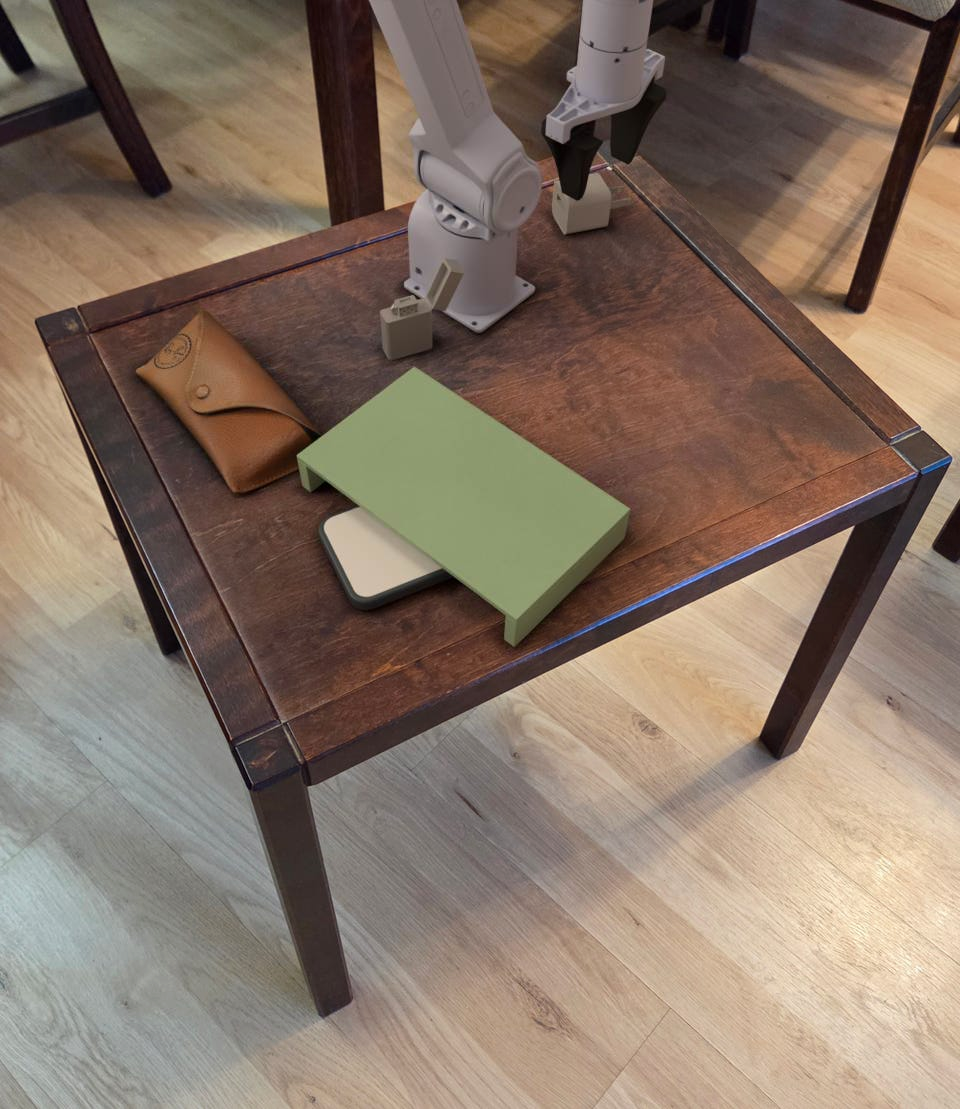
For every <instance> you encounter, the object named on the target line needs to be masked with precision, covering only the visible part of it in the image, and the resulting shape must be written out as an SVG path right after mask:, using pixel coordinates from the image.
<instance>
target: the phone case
mask: <svg viewBox="0 0 960 1109" xmlns="http://www.w3.org/2000/svg"><path fill="white" fill-rule="evenodd" d="M317 533H318V539H319V541H320V544H321V545H322V548H323V550H324V551H325V554H326V556H327V558H328V560H329V562H330V564H331V566H332V569H333V571H334V572H335V574H336V576H337V578H338V580H339V583H340V584H341V586H342V588H343V590H344V592H345V594H346V597H347V598H348V600H349V603H350V604H351V605H352V606H353V607H354V608H355V609H357V610H359V611H373V610H375V609H377V608H380V607H383V606H384V605H388V604H389V603H392V602H394V601H397V600H399V599H403V598H405V597H407V596H411V595H412V594H414V593H417V592H419V591H422V590H424V589H427V588H430V587H432V586H435V585H437V584H440V583H442V582H445V581H447V580H450V579H452V578H455V577H454V576H452V575H451V574H450V573H448V572H447V571H446V570H444V569H443V568H442V567H440V566H439V565H438V564H436V563H435V562H434V561H432V560H431V559H430V558H428V557H427V556H426V555H424V554H423V553H422V552H420V551H419V550H418V549H416V548H415V547H414V546H412V545H411V544H410V543H408V542H407V541H406V540H404V539H403V538H402V537H400V536H399V535H398V534H396V533H395V532H394V531H392V530H391V529H390V528H388V527H387V526H386V525H384V524H383V523H382V522H380V521H379V520H378V519H376V518H375V517H374V516H372V515H371V514H370V513H368V512H367V511H366V510H364V509H363V508H362V507H360V506H359V505H358V504H356V505H355V506H352V507H349V508H347V509H344V510H341V511H338V512H335V513H333V514H331V515H329V516H326V517H324V518H323V519H322V520H321V521H320V522H319V523H318V526H317Z"/></svg>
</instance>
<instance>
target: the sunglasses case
mask: <svg viewBox="0 0 960 1109" xmlns="http://www.w3.org/2000/svg"><path fill="white" fill-rule="evenodd" d="M135 374H136V375H137V376H138V377H139V378H140V380H142V381H143V382H144V383H145V384H146V385H147V386H149V387H150V388H151V389H152V390H153V391H155V393H156V394H158V395H159V396H160V398H162V400H163V401H164V402H165V403H166V404H167V406H168V407H169V408H170V409H171V410H172V411H173V412H174V414H175V415H176V416H177V417H178V418H179V420H180V421H181V422H182V423H183V425H184V426H185V428H187V430H188V431H189V432H190V433H191V435H192V436H193V437H194V439H195V440H196V441H197V443H198V444H199V445H200V447H201V448H202V449H203V450H204V451H205V454H207V455H208V457H209V459H210V460H211V461H212V462H213V463H214V466H215V467H216V468H217V470H218V472H219V473H220V475H221V477H222V479H223V480H224V481H225V483H226V485H227V487H228V489H229V490H230V491H231V493H233V494H247V493H249V492H252V491H255V490H258V489H260V488H263V487H265V486H268V485H270V484H273V483H274V482H277V481H279V480H281V479H284V478H285V477H288V476H290V475H291V474H293V473H296V472H297V471H299V465H298V459H297V455H298V454H299V453H300V452H302V451H303V450H304V449H306V448H307V447H308V446H310V445H311V444H312V443H314V442H315V441H316V440H318V439H319V438H320V437H322V436H323V435H322V434H321V432H320V431H318V429H317V428H316V427H315V426H314V425H313V423H312V422H311V421H310V419H308V418H307V416H306V415H305V414H304V413H303V411H301V409H300V407H298V406H297V404H296V402H294V401H293V399H292V398H291V397H290V396H289V395H288V394H287V393H286V392H285V390H283V389H282V388H281V386H280V385H279V384H278V383H277V382H276V381H275V380H274V379H273V377H272V376H271V375H270V374H269V373H268V372H267V371H266V370H265V369H264V368H263V366H261V365H260V364H259V362H258V361H257V360H256V359H255V358H254V356H252V355H251V354H250V352H249V351H248V350H247V349H246V347H244V346H243V345H242V344H241V343H240V342H239V341H238V340H237V338H236V337H235V336H233V334H232V333H231V332H229V331H228V329H226V328H225V327H224V325H222V324H221V323H220V322H219V321H218V320H217V319H216V318H215V317H214V316H213V315H212V314H211V313H210V312H209V311H208V310H207V309H204V308H199V309H198V310H197V315H196V316H194V317H193V318H192V319H191V320H190V321H189V322H188V323H187V324H186V325H185V326H184V327H183V328H182V329H181V330H180V331H179V332H177V334H176V335H175V336H174V337H173V338H171V340H170V341H169V342H167V344H166V345H164V346H163V347H162V348H161V349H160V350H159V351H158V352H157V353H156V354H155V355H154V356H153V357H152V358H151V359H150V360H149V361H148V362H147V363H146V364H143V365H141V366H139V367H137V368H136V370H135Z"/></svg>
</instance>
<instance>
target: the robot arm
mask: <svg viewBox="0 0 960 1109" xmlns="http://www.w3.org/2000/svg"><path fill="white" fill-rule="evenodd" d="M368 2H369V4H370V6H371V9H372V11H373V13H374V15H375V19H376V20H377V23H378V25H379V28H380V30H381V33H382V35H383V37H384V39H385V41H386V44H387V46H388V48H389V51H390V53H391V56H392V58H393V60H394V63H395V65H396V67H397V70H398V72H399V75H400V77H401V79H402V81H403V84H404V86H405V88H406V90H407V93H408V96H409V98H410V100H411V102H412V104H413V107H414V109H415V111H416V114H417V116H418V118H417V120H416V121H415V123H414V124H413V126H412V127H411V129H410V131H409V133H408V139H409V140H410V143H411V145H412V148H413V149H412V150H413V174H414V177H415V180H416V181H417V182H418V184H419V185H420V186H421V187H423V188H424V189H425V190H424V191H423V192H422V193H421V194H420V196H419V197H418V198H417V200H415V202H414V205H413V206H412V209H411V211H410V214H409V218H408V223H407V240H408V259H409V277H408V279H406V280H405V281H404V282H403V288H404V289H406V290H407V291H409V292H410V293H412V295H414V296H415V295H416V297H418V298H419V299H422V298H423V299H425V296H426V293H427V291H428V289H429V287H430V285H431V283H432V281H433V278H434V276H435V274H436V272H437V270H438V268H439V266H440V263H441V261H442V259H444V258H445V259H451V260H457V261H458V262H459V264H460V265H461V267H462V268H463V270H464V274H463V276H462V279H461V281H460V283H459V285H458V287H457V289H456V291H455V293H454V295H453V297H452V299H451V301H450V303H449V305H448V307H447V309H446V311H441V312H442V313H444V314H445V315H447V316H449V317H450V318H452V319H453V320H455V321H456V322H458V323H460V324H461V325H463V326H464V327H466V328H467V329H470V330H471V331H473V332H474V333H476V334H480V333H483V332H485V331H486V330H487V329H489V328H490V327H491V326H492V325H494V324H495V323H497V322H498V321H499V320H500V319H502V318H503V317H504V316H506V314H508V313H509V312H511V311H512V310H513V309H515V308H517V306H518V305H520V304H521V303H522V302H524V301H525V300H526V299H528V298H529V297H530V296H532V295H533V294H534V293H535V291H536V286H535V285H534V284H532V283H530V282H528V281H527V280H525V279H523V278H522V277H520V276H518V275H517V257H518V240H519V239H518V238H519V228H520V227H521V226H523V225H524V224H525V223H526V222H527V221H528V219H529V218H530V217H531V216H532V215H533V213H534V212H535V209H536V208H537V206H538V203H539V200H540V198H541V196H542V195H541V194H542V189H543V188H542V187H543V172H542V169H541V167H540V165H539V164H538V163H537V161H535V160H533V159H532V158H530V157H528V155H527V153H526V151H525V148H524V145H523V142H522V141H520V140H519V138H518V137H517V136H516V135H515V133H513V132H512V131H511V129H510V128H509V127H508V126H507V125H506V124H505V123H504V121H503V120H501V119H500V118H499V116H498V115H497V114H496V112H495V111H494V109H493V106H492V102H491V99H490V96H489V93H488V91H487V87H486V85H485V82H484V79H483V75H482V72H481V69H480V66H479V63H478V61H477V58H476V55H475V54H476V53H475V52H474V49H473V45H472V42H471V40H470V37H469V33H468V30H467V28H466V25H465V21H464V19H463V16H462V12H461V10H460V6H459V4H458V1H457V0H368ZM653 5H654V0H582V8H581V19H580V29H579V38H578V39H579V41H578V49H577V50H578V51H577V60H576V65H575V66H573V67H572V68H571V69H569V70H568V71H567V72H566V81H568V82H569V83H571V84H570V85H569V87H568V88H567V89H566V91H565V93H564V94H563V96H562V98H561V99H560V101H558V104H557V105H556V107H555V108H553V110H552V111H550V112H549V113H548V114H546V117H545V118H544V119H543V120H542V121H541V128H540V129H541V130H540V134H541V136H542V137H543V139H544V140H545V142H546V144H547V146H548V148H549V150H550V152H551V155H552V158H553V160H554V163H555V168H556V170H557V175H558V180H559V181H560V186H561V191H562V193H563V194H565V195H567V196H569V197H571V198H573V199H574V200H576V201H579V200H580V199H581V198H583V195H584V193H585V190H586V187H587V182H588V177H589V174H590V171H591V168H592V166H593V162H594V160H595V157H596V155H597V153H598V151H599V149H600V148H601V147H602V145H603V143H604V140H602V139H600V138H598V137H596V136H594V135H592V134H590V129H589V128H587V123H589V122H591V121H595V120H599V119H603V118H605V117H609V116H610V121H611V122H610V140H609V149H610V156H611V158H613V159H615V160H618V161H619V162H622V163H623V164H626V165H630V164H631V163H632V162H633V161H634V159H635V156H636V154H637V151H638V149H639V146H640V144H641V141H642V139H643V137H644V135H645V132H646V130H647V128H648V126H649V125H650V123H651V121H652V119H653V117H654V116H655V115H656V113H657V112H658V110H659V109H660V107H661V106H662V105H663V104H664V103H665V101H666V99H667V94H668V91H667V89H666V88H665V87H663V86H662V85H659V84H657V83H655V81H658V80H659V79H661V78H662V77H663V74H664V68H665V62H666V56H665V55H664V54H661V53H659V52H656V51H653V50H652V49H650V48H647V45H648V38H649V33H650V25H651V19H652V12H653Z"/></svg>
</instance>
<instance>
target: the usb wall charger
mask: <svg viewBox="0 0 960 1109" xmlns="http://www.w3.org/2000/svg"><path fill="white" fill-rule="evenodd" d="M552 190H553V192H552V204H551V212H552V216H553V218H554V220H555V222H556V224H557V225H558V226H559V229H560V230H561V233H562V234H563V235H570V234H575V233H579V232H585V231H590V230H594V229H595V230H596V229H600V228H605V227H608V225H609V222H610V213H611V209H617V208H623V207H626V206H630V205H631V203H632V197H628V198H620V199H616V200H615V199H614V200H612V195H613V196H614V195H617V194H621V193H623V190H624V185H617V186H612V187H609V186H608V185H607V184H606V181H604V179H603V177H602V175H601V174H600V173H599V172H595V173H594V172H593V173H589V177H588V182H587V187H586V190H585V193H584V195H583V198H581V199H580V200H579V201H576V200H574V199H573V198H571V197H569V196H567V195H565V194H563V193H562V191H561V186H560V181H559V179H556V180H554V182H553V189H552ZM627 201H628V202H627Z"/></svg>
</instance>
